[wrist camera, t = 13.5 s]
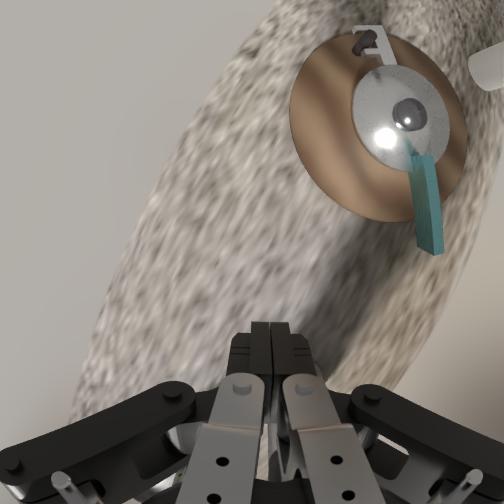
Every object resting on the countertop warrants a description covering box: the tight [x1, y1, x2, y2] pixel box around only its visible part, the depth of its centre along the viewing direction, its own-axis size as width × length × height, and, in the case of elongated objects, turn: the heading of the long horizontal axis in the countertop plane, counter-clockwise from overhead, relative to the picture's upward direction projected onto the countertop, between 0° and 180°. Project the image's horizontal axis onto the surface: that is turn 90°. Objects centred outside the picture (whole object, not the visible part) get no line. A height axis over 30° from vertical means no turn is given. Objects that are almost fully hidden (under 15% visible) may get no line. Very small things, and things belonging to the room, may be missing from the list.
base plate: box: [289, 29, 467, 222], centre depth 32 cm, size 28×28×8 cm
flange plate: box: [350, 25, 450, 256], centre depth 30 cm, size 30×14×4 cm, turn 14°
